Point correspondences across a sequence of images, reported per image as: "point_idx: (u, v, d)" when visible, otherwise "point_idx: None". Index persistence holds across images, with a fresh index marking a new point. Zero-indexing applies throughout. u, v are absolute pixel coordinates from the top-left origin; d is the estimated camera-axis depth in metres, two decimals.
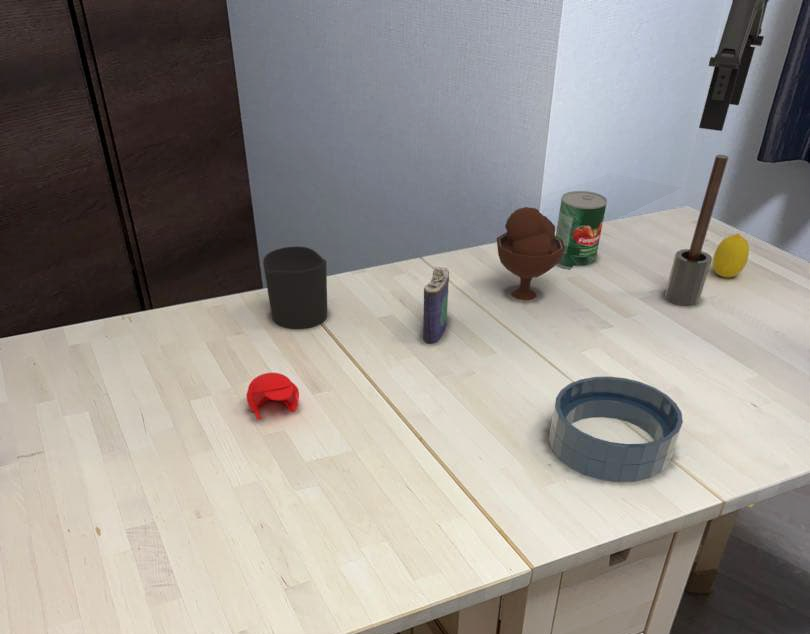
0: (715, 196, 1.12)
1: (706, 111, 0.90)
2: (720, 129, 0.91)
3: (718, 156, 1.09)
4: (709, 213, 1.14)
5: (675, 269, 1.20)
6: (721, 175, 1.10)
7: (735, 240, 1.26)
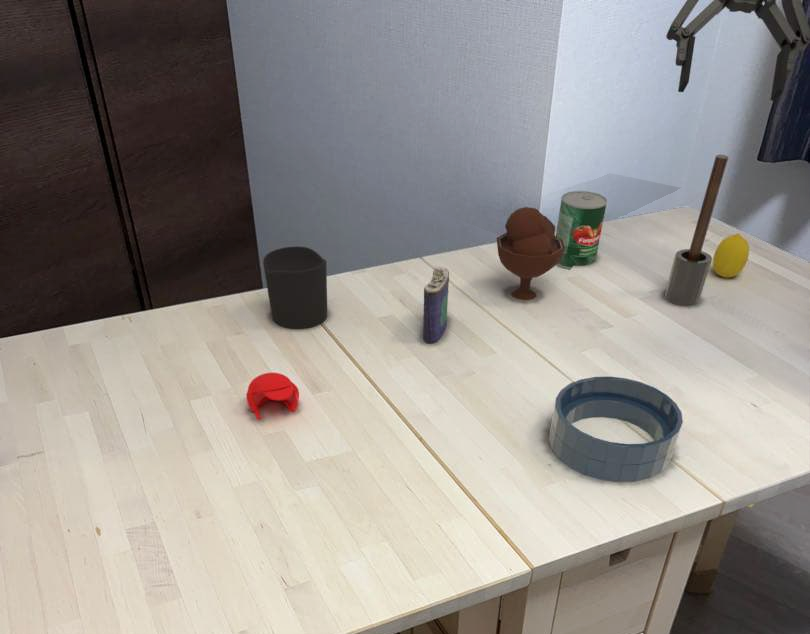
0: (715, 196, 1.12)
1: (680, 77, 1.11)
2: (683, 81, 1.09)
3: (718, 156, 1.09)
4: (709, 213, 1.14)
5: (675, 269, 1.20)
6: (721, 175, 1.10)
7: (735, 240, 1.26)
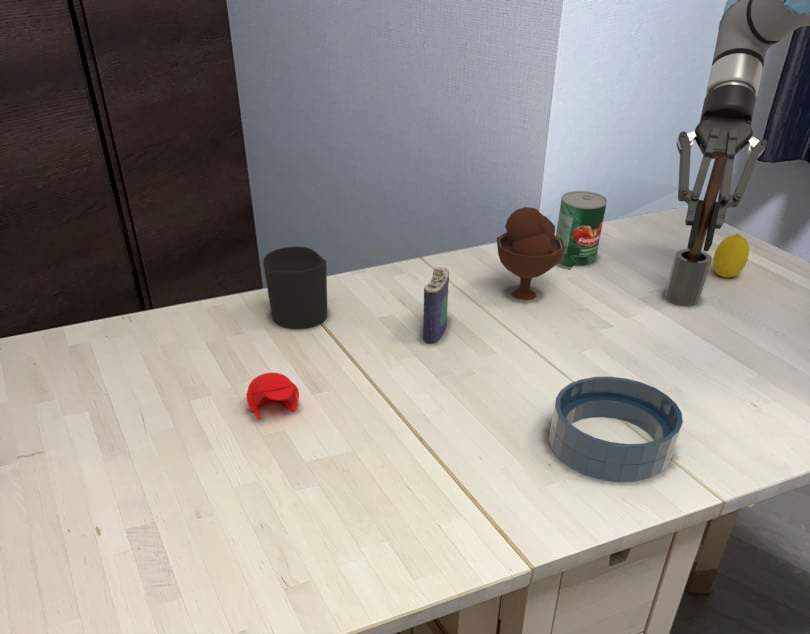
0: (715, 196, 1.12)
1: None
2: (690, 240, 1.13)
3: (718, 156, 1.09)
4: (709, 213, 1.14)
5: (675, 269, 1.20)
6: (721, 175, 1.10)
7: (735, 240, 1.26)
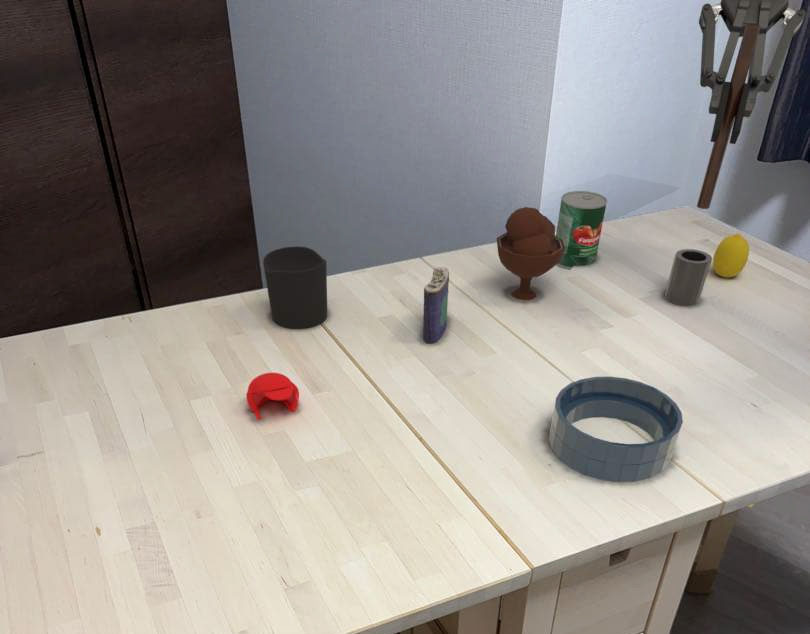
0: (744, 76, 0.96)
1: None
2: (714, 129, 0.97)
3: (749, 25, 0.93)
4: (737, 97, 0.98)
5: (675, 269, 1.20)
6: (752, 48, 0.94)
7: (735, 240, 1.26)
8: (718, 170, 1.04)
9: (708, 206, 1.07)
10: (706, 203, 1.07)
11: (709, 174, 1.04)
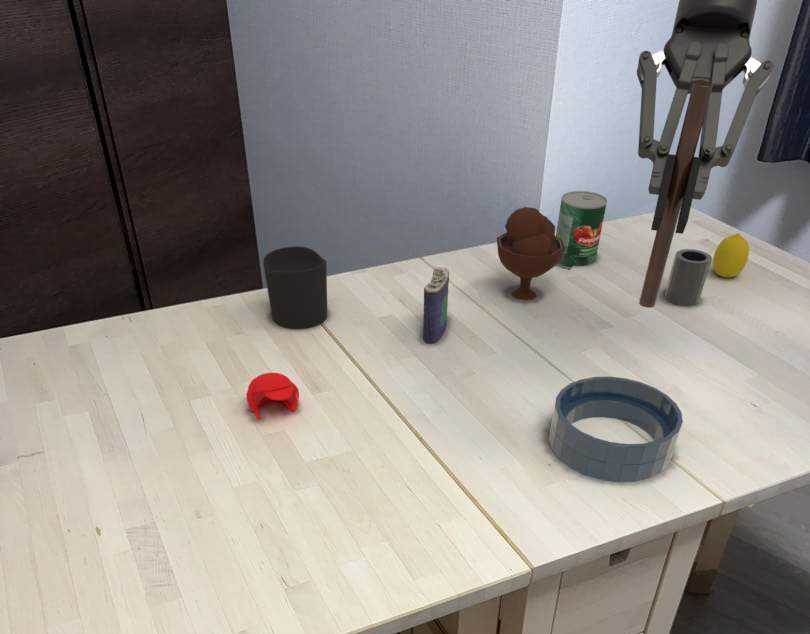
0: (693, 148, 0.73)
1: (655, 210, 0.76)
2: (654, 216, 0.74)
3: (697, 83, 0.70)
4: (684, 174, 0.75)
5: (675, 269, 1.20)
6: (702, 114, 0.71)
7: (735, 240, 1.26)
8: (664, 262, 0.81)
9: (653, 304, 0.84)
10: (650, 300, 0.84)
11: (652, 267, 0.81)
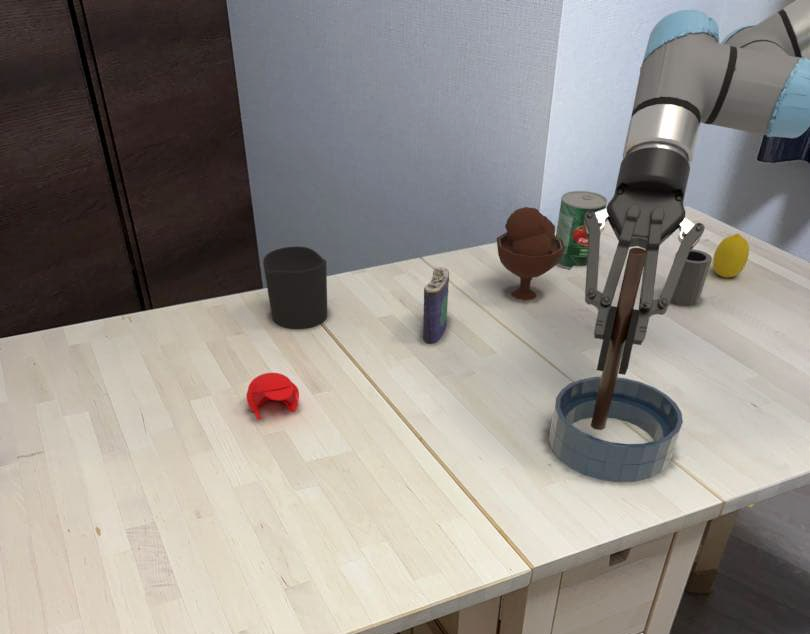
0: (632, 303, 0.80)
1: None
2: (598, 362, 0.82)
3: (632, 250, 0.77)
4: (625, 323, 0.82)
5: None
6: (638, 276, 0.78)
7: (735, 240, 1.26)
8: (611, 393, 0.88)
9: (603, 427, 0.92)
10: (600, 424, 0.91)
11: (601, 396, 0.89)
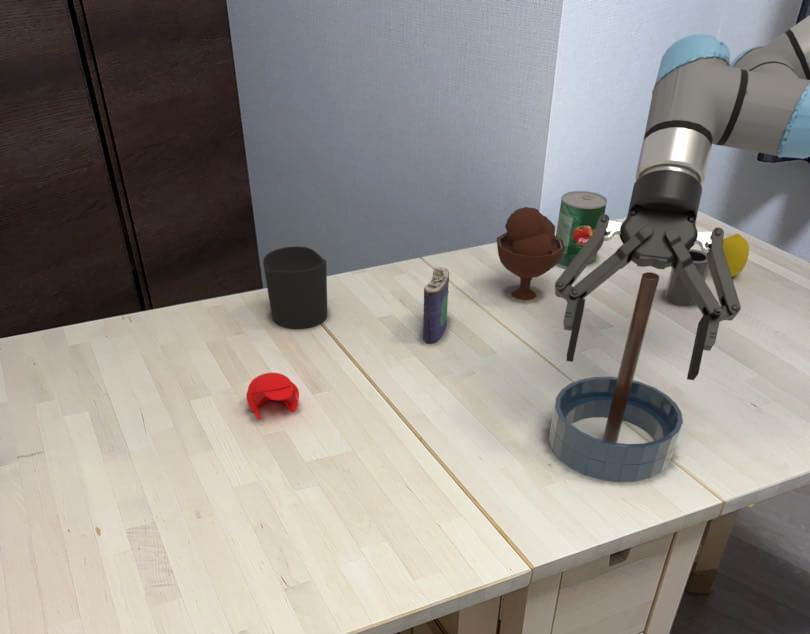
0: (644, 325, 0.82)
1: None
2: (567, 353, 0.84)
3: (645, 275, 0.79)
4: (637, 345, 0.84)
5: None
6: (650, 300, 0.80)
7: (735, 240, 1.26)
8: (622, 412, 0.90)
9: None
10: None
11: (612, 415, 0.91)
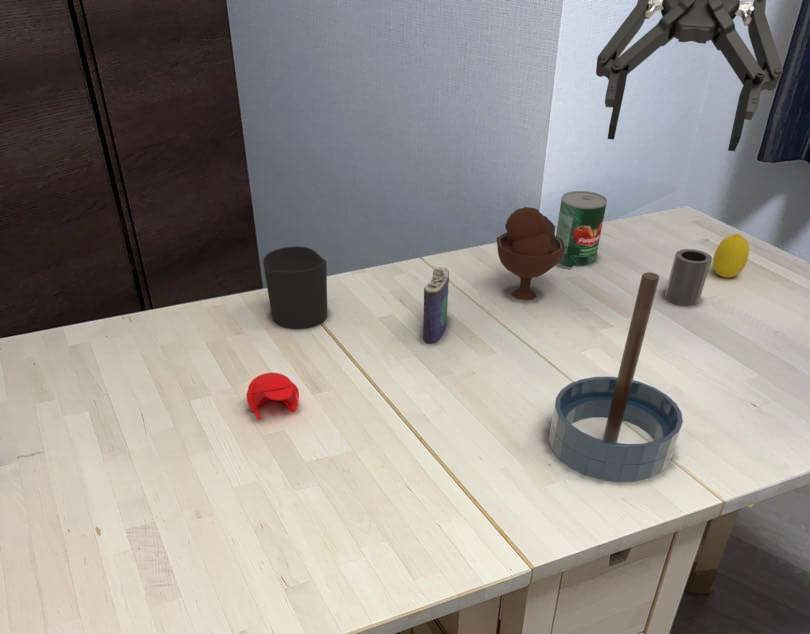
0: (644, 325, 0.82)
1: None
2: (609, 125, 0.85)
3: (645, 275, 0.79)
4: (637, 345, 0.84)
5: (675, 269, 1.20)
6: (650, 300, 0.80)
7: (735, 240, 1.26)
8: (622, 412, 0.90)
9: None
10: None
11: (612, 415, 0.91)
